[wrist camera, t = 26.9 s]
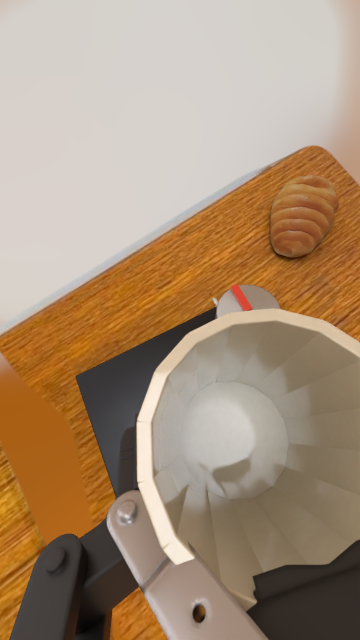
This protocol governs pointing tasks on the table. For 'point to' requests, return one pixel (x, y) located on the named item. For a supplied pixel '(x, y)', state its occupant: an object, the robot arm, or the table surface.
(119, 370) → the hob
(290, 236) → the pastry
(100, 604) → the robot arm
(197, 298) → the table surface
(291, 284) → the table surface
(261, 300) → the knob
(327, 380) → the cup
